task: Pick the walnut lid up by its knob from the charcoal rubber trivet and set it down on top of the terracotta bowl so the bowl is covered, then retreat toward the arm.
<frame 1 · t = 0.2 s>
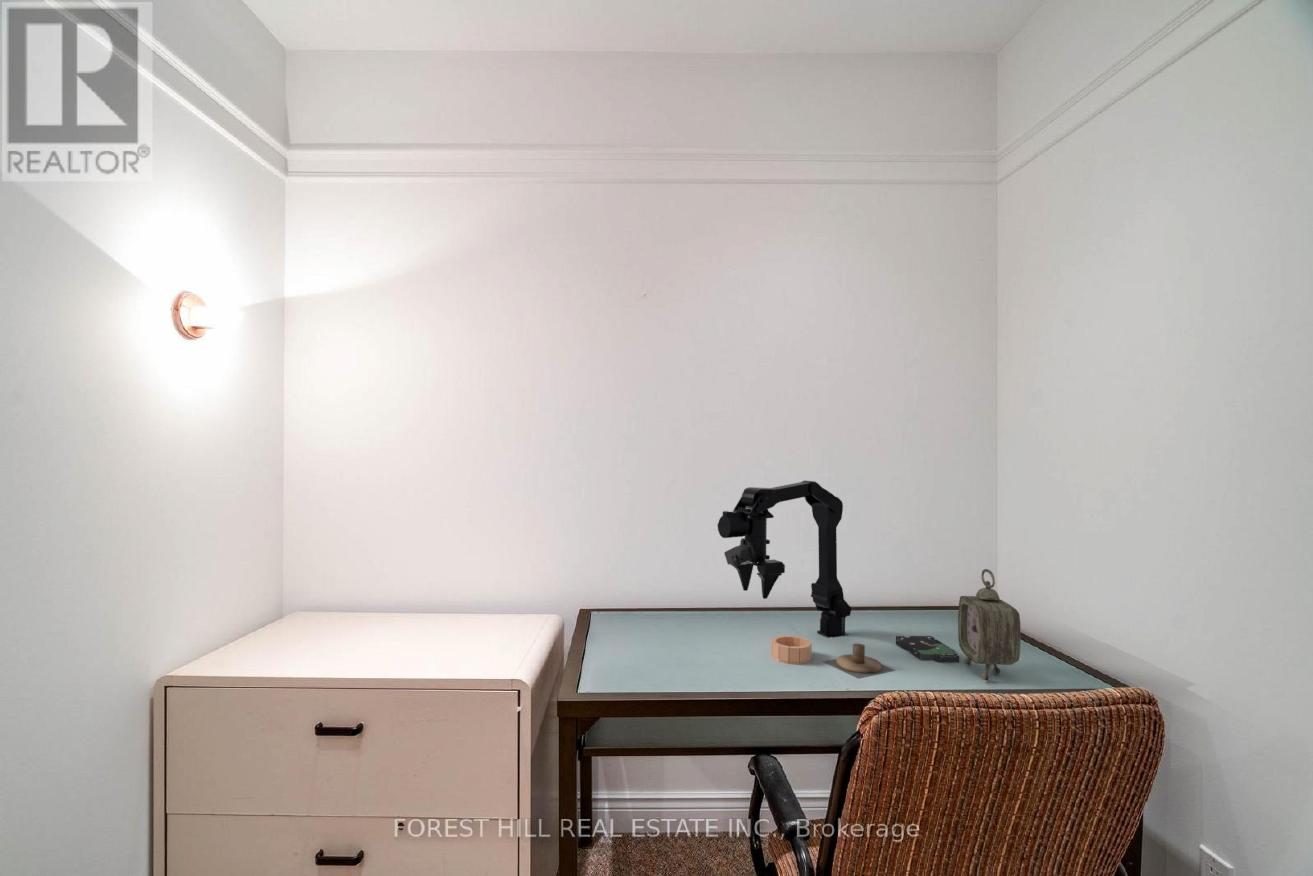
hand: (754, 594, 169), 14 cm above the table, fingers open, 9 cm apart
tabletop clock: (988, 674, 154), on the table
disk drive: (926, 655, 168), on the table
bowl: (790, 659, 162), on the table
lid: (858, 666, 156), point 1 cm above the table, touching trivet
trivet: (858, 668, 156), on the table
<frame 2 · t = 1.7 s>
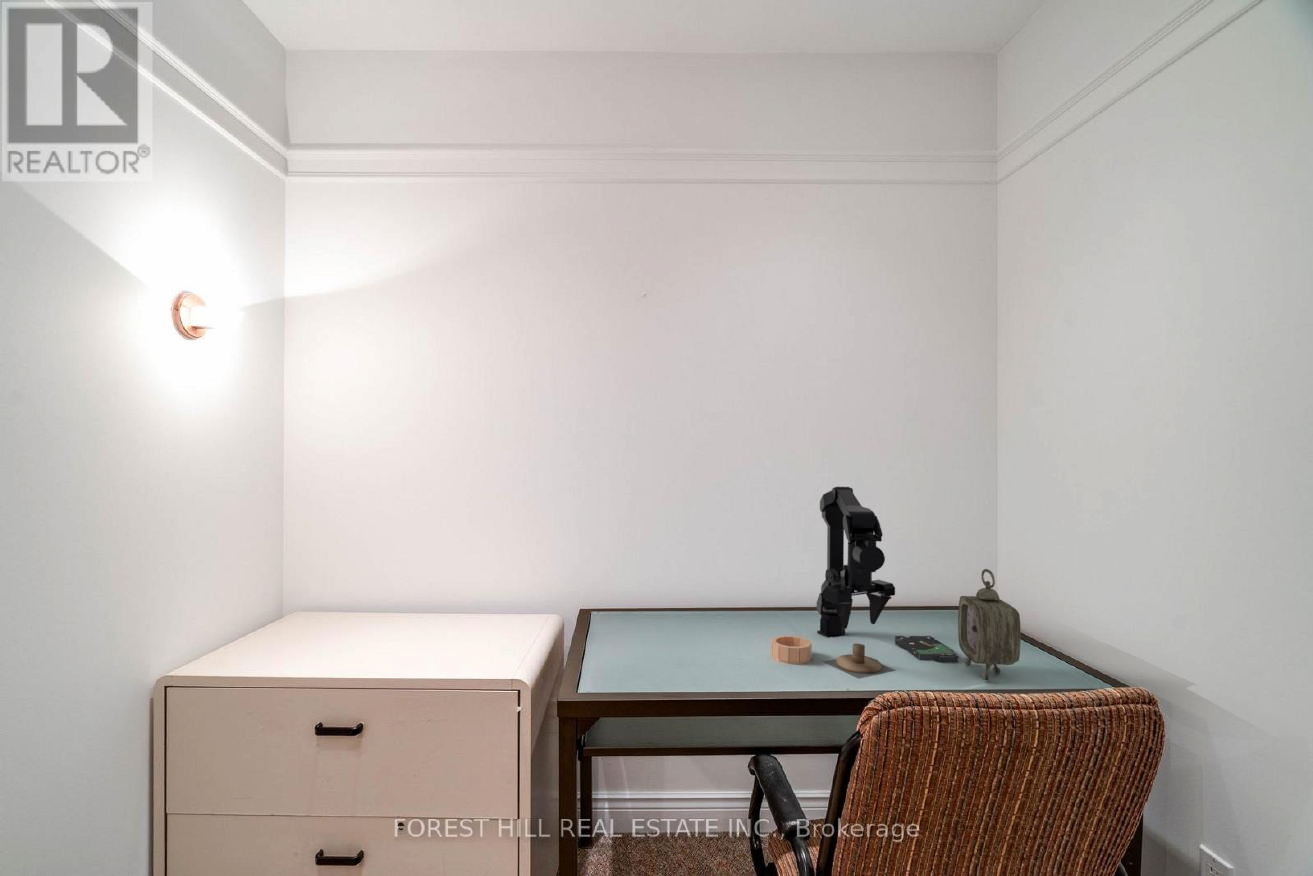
hand: (858, 626, 156), 10 cm above the table, fingers open, 9 cm apart
nothing on the table moved.
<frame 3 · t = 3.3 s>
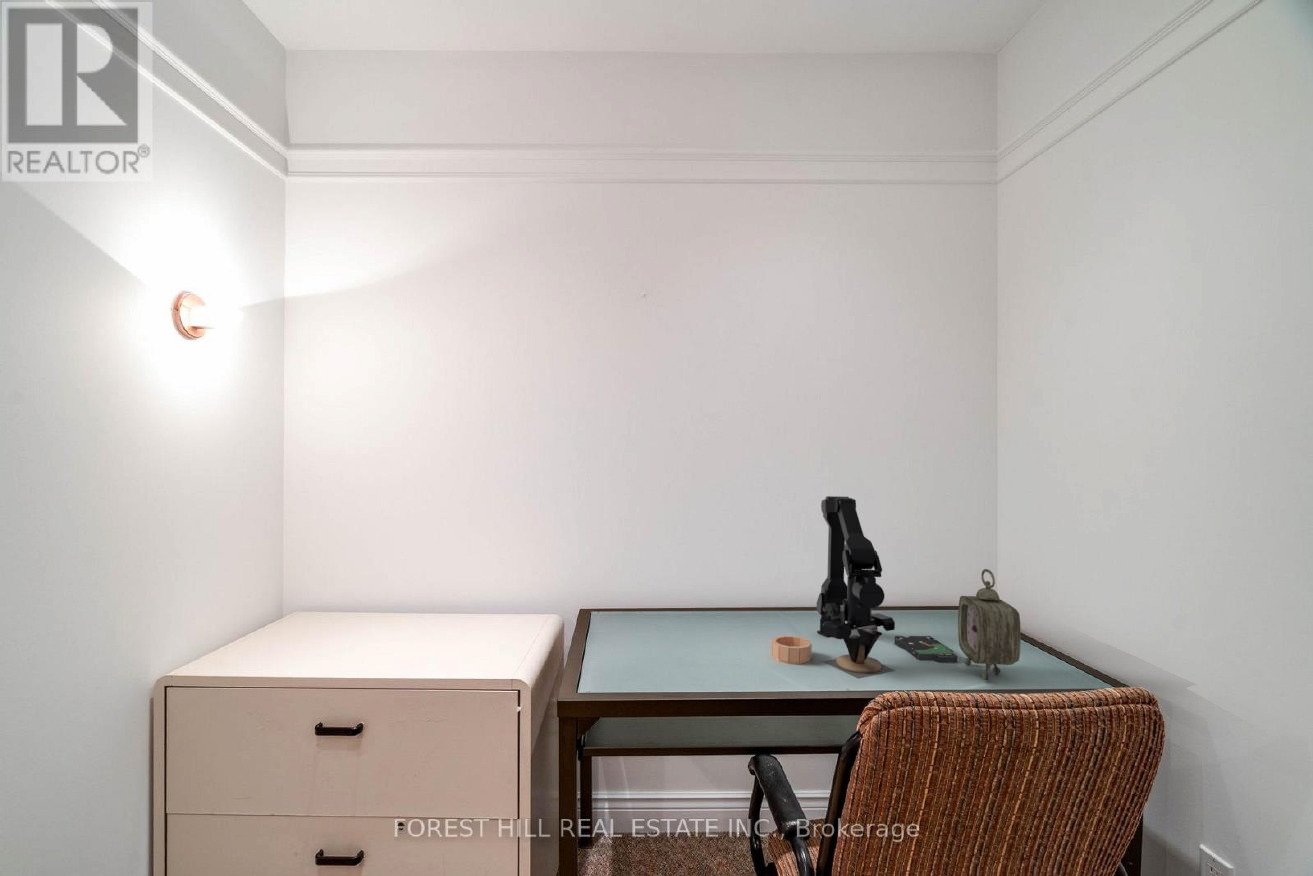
hand: (858, 660, 156), 2 cm above the table, fingers closed on lid, 3 cm apart
lid: (858, 665, 156), point 1 cm above the table, touching gripper, trivet
everything else where it was.
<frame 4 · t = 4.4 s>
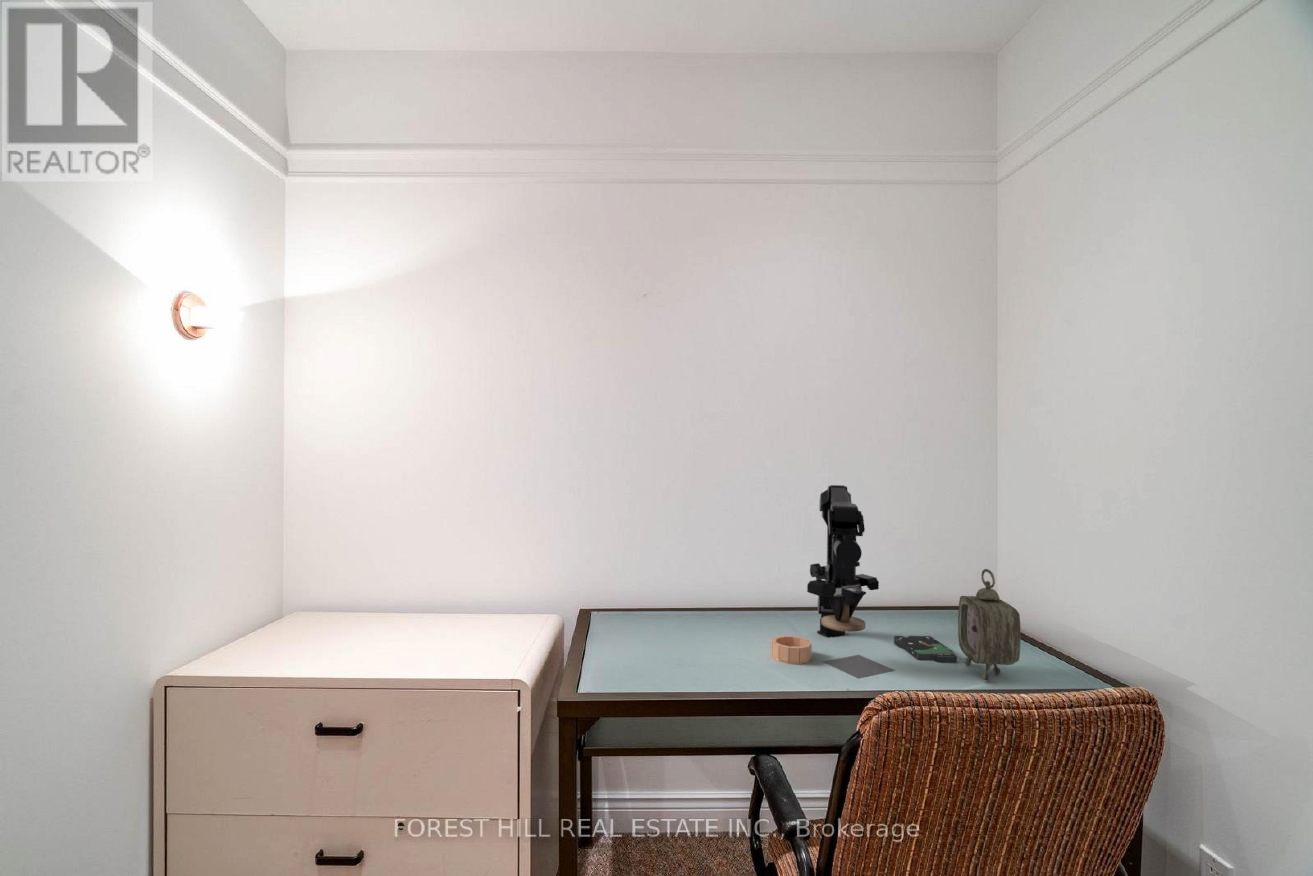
hand: (842, 620, 157), 11 cm above the table, fingers closed on lid, 3 cm apart
lid: (843, 625, 157), point 10 cm above the table, touching gripper
everything else where it was.
when the fingers open (7 cm above the table, at t = 6.0 s): lid drops 1 cm, resting on bowl.
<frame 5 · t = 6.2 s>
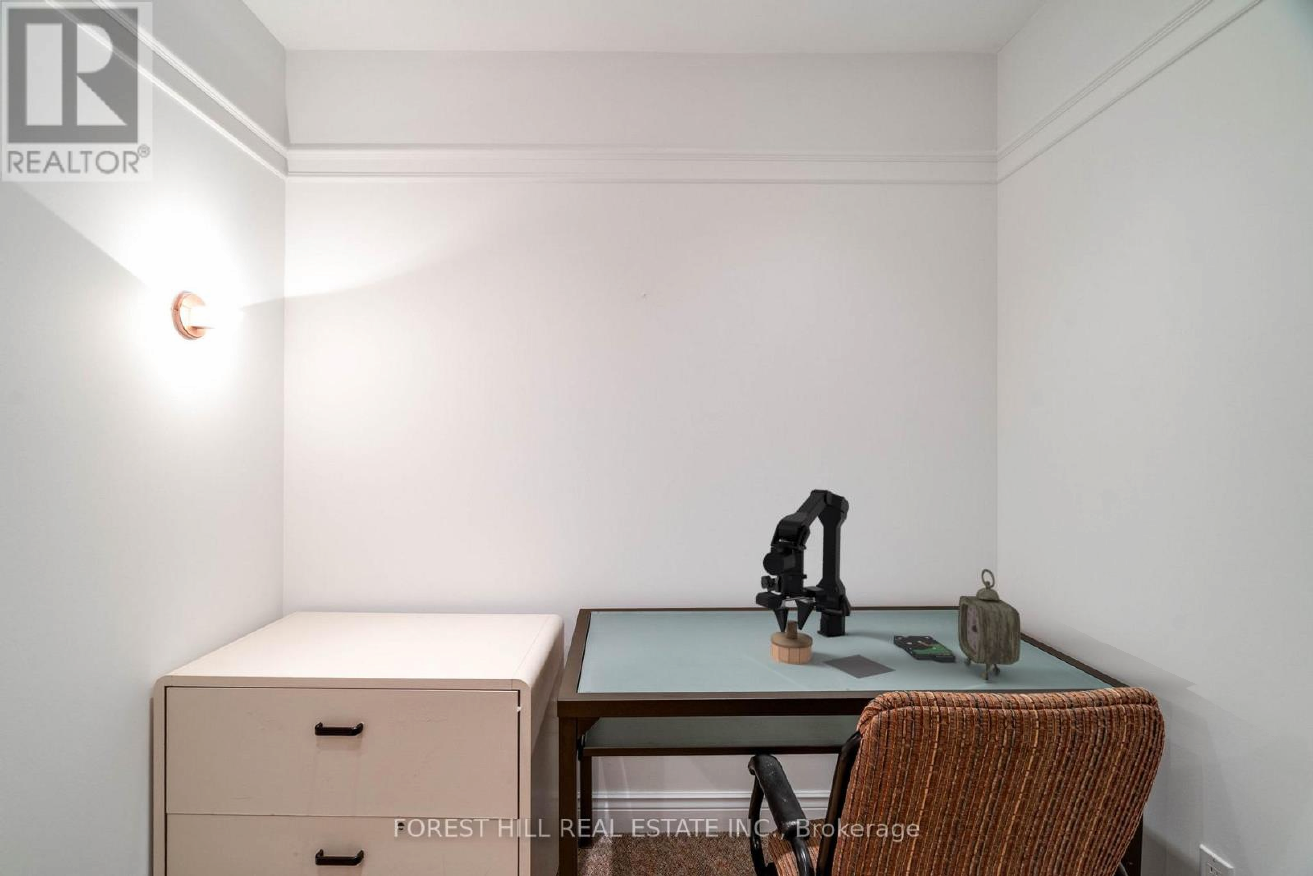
hand: (791, 631, 162), 7 cm above the table, fingers open, 5 cm apart
lid: (791, 641, 162), point 4 cm above the table, touching bowl
everything else where it was.
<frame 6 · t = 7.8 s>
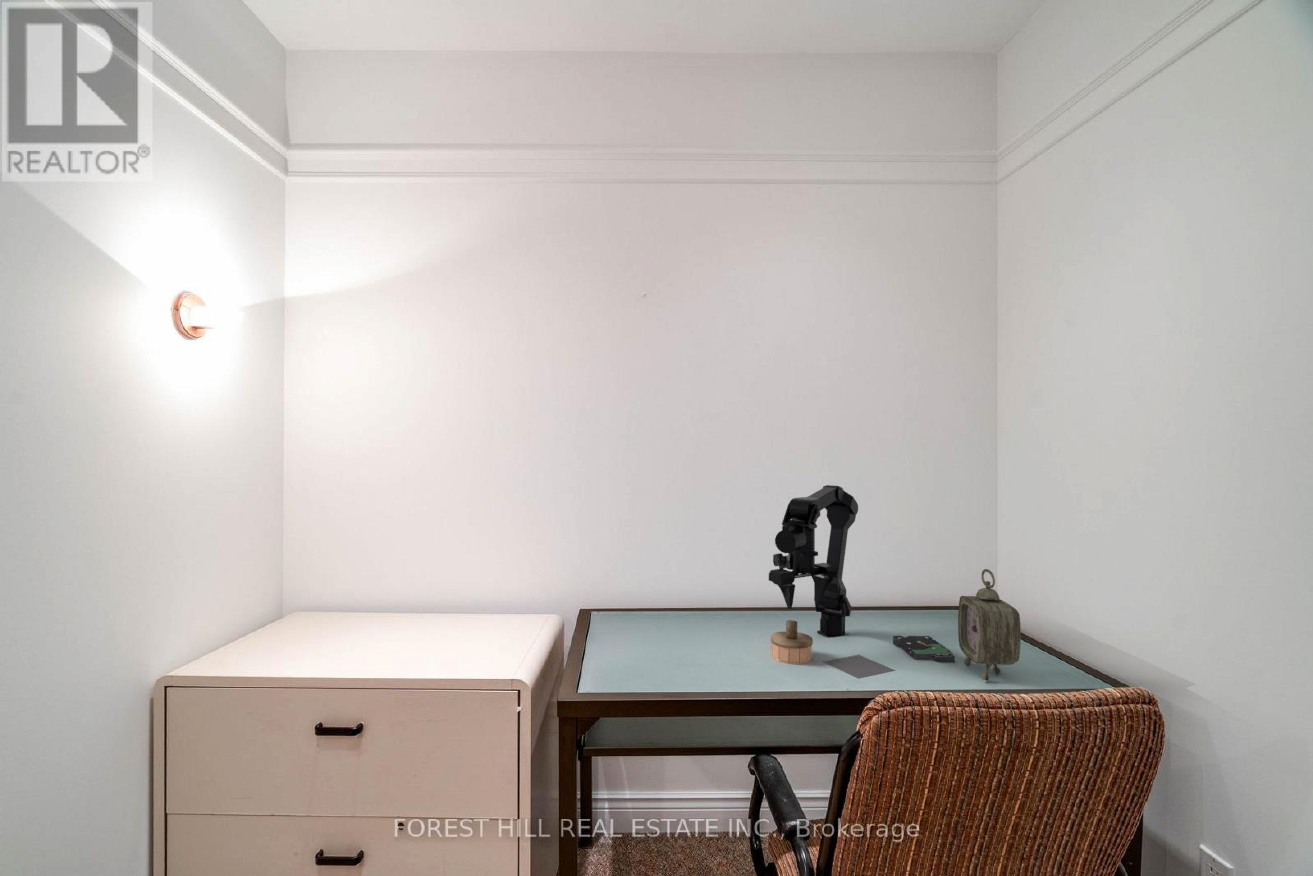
hand: (803, 606, 167), 12 cm above the table, fingers open, 9 cm apart
nothing on the table moved.
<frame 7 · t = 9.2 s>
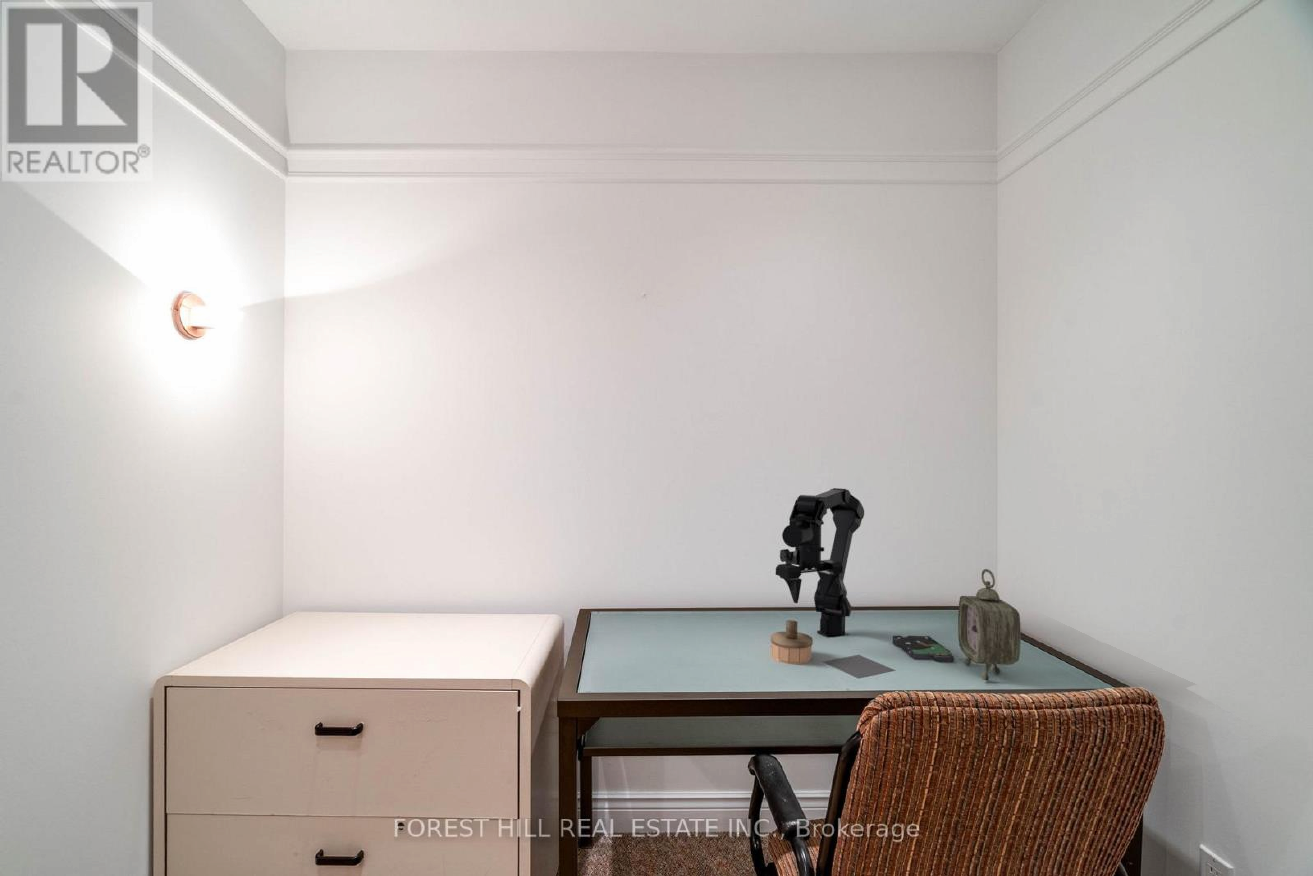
hand: (809, 601, 171), 13 cm above the table, fingers open, 9 cm apart
at the end: lid 0.1 cm off-centre on the bowl, point 4.5 cm above the bowl's base; lid tilted 0°; the gripper is holding nothing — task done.
